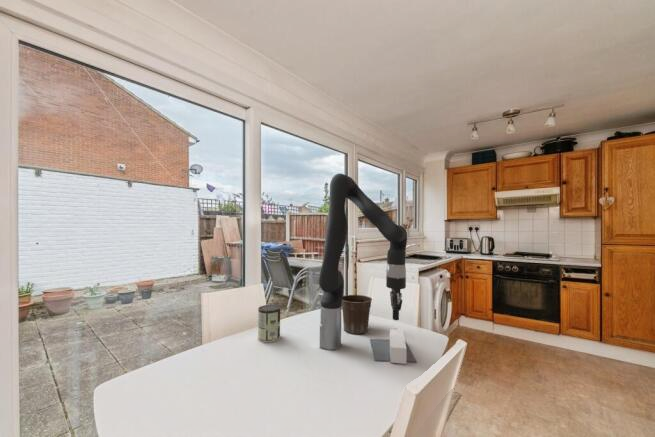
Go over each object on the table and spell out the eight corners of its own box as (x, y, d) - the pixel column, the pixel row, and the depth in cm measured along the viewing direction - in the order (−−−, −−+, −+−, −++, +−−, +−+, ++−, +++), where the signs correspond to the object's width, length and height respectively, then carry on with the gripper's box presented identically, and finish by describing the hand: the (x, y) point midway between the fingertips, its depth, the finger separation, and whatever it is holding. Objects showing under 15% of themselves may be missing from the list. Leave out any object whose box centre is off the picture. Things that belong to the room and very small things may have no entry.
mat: (375, 361, 110) (375, 359, 110) (369, 339, 131) (369, 338, 131) (416, 362, 109) (416, 361, 109) (404, 341, 130) (404, 339, 130)
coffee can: (268, 332, 139) (269, 303, 139) (284, 336, 133) (285, 306, 134) (252, 339, 130) (253, 308, 130) (269, 344, 125) (269, 312, 125)
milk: (390, 346, 108) (389, 326, 130) (390, 362, 108) (389, 340, 130) (406, 348, 107) (403, 328, 129) (406, 364, 107) (403, 341, 129)
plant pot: (341, 323, 153) (341, 293, 153) (371, 325, 150) (371, 295, 151) (338, 335, 137) (338, 301, 137) (372, 337, 134) (372, 303, 135)
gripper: (384, 272, 119) (383, 314, 118) (389, 278, 105) (388, 325, 105) (402, 273, 118) (401, 314, 118) (409, 278, 105) (409, 325, 105)
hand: (395, 319), depth 111 cm, fingers closed
